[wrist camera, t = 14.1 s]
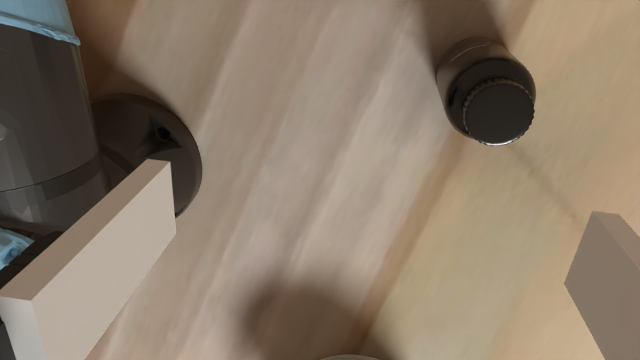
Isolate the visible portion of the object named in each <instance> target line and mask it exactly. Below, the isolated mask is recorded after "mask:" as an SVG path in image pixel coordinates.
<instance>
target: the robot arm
mask: <svg viewBox="0 0 640 360" xmlns="http://www.w3.org/2000/svg"><path fill="white" fill-rule="evenodd" d="M79 45H81V43H80V40H79V38H78V37H77V36H76V35H75V32H74V29H73V25H72V22H71V18H70V14H69V11H68V7H67V3H66V0H0V360H84V359H85V358H86V357H87V355H88V354H89V353H90V351H91V350H92V348H93V347H94V346H95V344H96V343H97V342H98V340H99V339H100V337H101V336H102V335H103V333H104V332H105V331H106V329H107V328H108V326H109V325H110V324H111V322H112V321H113V320H114V318H115V317H116V315H117V314H118V313H119V311H120V310H121V309H122V307H123V306H124V304H125V303H126V302H127V300H128V299H129V298H130V296H131V295H132V293H133V292H134V291H135V289H136V288H137V287H138V285H139V284H140V282H141V281H142V280H143V278H144V277H145V276H146V274H147V273H148V271H149V270H150V269H151V267H152V266H153V265H154V263H155V262H156V260H157V259H158V258H159V256H160V255H161V254H162V252H163V251H164V249H165V248H166V247H167V245H168V244H169V243H170V241H171V240H172V238H173V237H174V236H175V234H176V224H175V219H176V218H177V217H178V216H179V215H181V214H182V213H183V212H184V211H185V210H186V208H187V207H188V206H189V204H190V203H191V202H192V201H193V199H194V198H195V196H196V194H197V192H198V190H199V187H200V184H201V179H202V162H201V157H200V153H199V150H198V148H197V145H196V143H195V141H194V139H193V137H192V135H191V134H190V132H189V131H188V130H187V128H186V127H185V126H184V124H183V123H182V122H181V121H180V120H179V119H178V118H177V117H176V116H175V115H174V114H172V113H171V112H170V111H169V110H167V109H166V108H164V107H163V106H161V105H159V104H157V103H155V102H153V101H151V100H149V99H146V98H143V97H140V96H136V95H130V94H112V95H107V96H103V97H100V98H98V99H96V100H94V101H92V102H90V97H89V92H88V88H87V83H86V78H85V74H84V69H83V64H82V59H81V55H80V50H79ZM564 284H565V286H566V288H567V290H568V292H569V293H570V295H571V297H572V299H573V301H574V303H575V304H576V306H577V308H578V310H579V312H580V314H581V316H582V317H583V319H584V321H585V323H586V325H587V327H588V328H589V330H590V332H591V334H592V336H593V338H594V340H595V341H596V343H597V345H598V347H599V349H600V351H601V353H602V354H603V356H604V358H605V360H640V237H639V236H638V235H637V234H636V233H635V232H634V231H633V229H632V228H631V227H630V226H629V225H628V224H627V223H626V222H625V220H624V219H623V218H622V217H621V216H620V215H619V214H613V213H604V212H595V211H592V214H591V216H590V219H589V221H588V224H587V226H586V229H585V232H584V234H583V237H582V239H581V242H580V244H579V247H578V249H577V252H576V255H575V257H574V260H573V262H572V265H571V267H570V270H569V272H568V275H567V278H566V280H565V283H564Z"/></svg>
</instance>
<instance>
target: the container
mask: <svg viewBox="0 0 640 360" xmlns="http://www.w3.org/2000/svg"><path fill="white" fill-rule="evenodd" d="M319 360H380V359H377V358H374V357H369V356H364V355H354V354H343V355H334V356H329V357H325V358H322V359H319Z"/></svg>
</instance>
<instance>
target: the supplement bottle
mask: <svg viewBox="0 0 640 360" xmlns="http://www.w3.org/2000/svg"><path fill="white" fill-rule="evenodd" d="M436 81H437V87H438V91H439V94H440V97H441V100H442V104H443V107H444V110H445V113H446V116H447V118H448V120H449V121H450V123H451V124H452V126H453V127H454V128H455V129H456V130H457V131H458V132H460V133H461V134H463V135H464V136H466V137H469V138H472V139H475V140H478V141H479V142H480V143H484V144H485V145H491V146H495V145H497V146H500V145H506V144H508V143H511V142H513V141H514V140H517V139H519V138H520V136H522V135H524V133H525V131H527V130H528V128H529V126H530V125H531V124H532V119H533V118H534V116H533V114H534V112H535V110H534V104H535V99H536V88H535V83H534V80H533V78H532V76H531V74H530V73H529V71H528V70H527V68H526V67H525V66H524V65H523V64H522V63H521V62H519V61H518V60H517V59H516V58H515V57H514V56H513V55H512V54H511V53H510V52H509V51H508V50H506V49H505V48H504V47H503V46H502V45H500V44H499V43H497V42H496V41H494V40H491V39H488V38H482V37H475V38H469V39H465V40H463V41H460V42H458V43H457V44H455V45H454V46H452V47H451V48H450V49H449V50H448V51H447V52H446V53H445V54H444V56H443V57H442V59H441V61H440V63H439V65H438V69H437V75H436Z"/></svg>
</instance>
